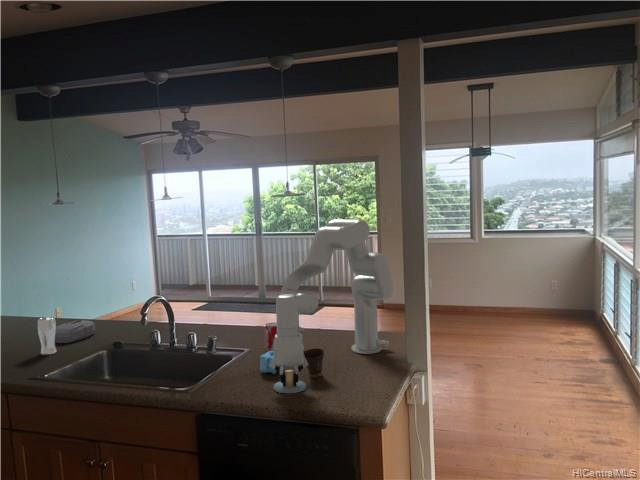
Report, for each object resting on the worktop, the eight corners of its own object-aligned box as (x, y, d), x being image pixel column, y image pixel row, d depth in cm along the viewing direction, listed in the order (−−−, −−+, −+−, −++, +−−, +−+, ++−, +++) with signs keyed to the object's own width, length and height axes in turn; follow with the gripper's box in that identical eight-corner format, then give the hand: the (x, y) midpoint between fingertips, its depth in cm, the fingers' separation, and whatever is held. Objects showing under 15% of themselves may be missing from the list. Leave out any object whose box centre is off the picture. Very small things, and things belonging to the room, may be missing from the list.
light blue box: (274, 364, 194) (273, 345, 194) (288, 366, 192) (287, 347, 191) (258, 374, 183) (257, 354, 183) (272, 376, 181) (272, 356, 180)
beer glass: (61, 351, 219) (59, 317, 217) (46, 356, 212) (44, 321, 211) (50, 349, 221) (48, 316, 220) (35, 354, 215) (33, 319, 214)
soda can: (279, 355, 205) (278, 326, 204) (262, 354, 207) (261, 326, 206) (283, 350, 212) (282, 322, 211) (267, 349, 214) (266, 321, 213)
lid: (303, 380, 176) (303, 364, 175) (308, 392, 165) (307, 375, 165) (272, 383, 174) (271, 367, 173) (275, 395, 163) (274, 378, 163)
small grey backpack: (75, 332, 251) (43, 343, 231) (73, 316, 250) (42, 326, 231) (100, 333, 247) (70, 345, 228) (99, 317, 246) (69, 327, 227)
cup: (298, 379, 177) (297, 354, 176) (307, 371, 185) (306, 347, 184) (320, 382, 174) (319, 356, 173) (328, 374, 182) (327, 349, 181)
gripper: (312, 327, 172) (314, 380, 173) (264, 329, 172) (266, 381, 173) (312, 333, 164) (313, 388, 166) (262, 335, 164) (264, 389, 166)
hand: (289, 384), depth 169 cm, fingers closed on lid, 3 cm apart
